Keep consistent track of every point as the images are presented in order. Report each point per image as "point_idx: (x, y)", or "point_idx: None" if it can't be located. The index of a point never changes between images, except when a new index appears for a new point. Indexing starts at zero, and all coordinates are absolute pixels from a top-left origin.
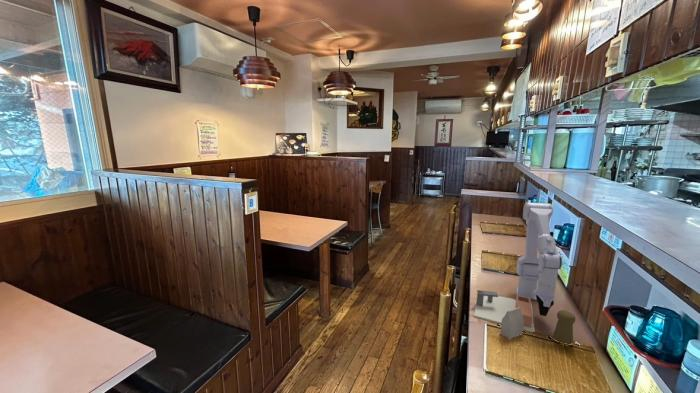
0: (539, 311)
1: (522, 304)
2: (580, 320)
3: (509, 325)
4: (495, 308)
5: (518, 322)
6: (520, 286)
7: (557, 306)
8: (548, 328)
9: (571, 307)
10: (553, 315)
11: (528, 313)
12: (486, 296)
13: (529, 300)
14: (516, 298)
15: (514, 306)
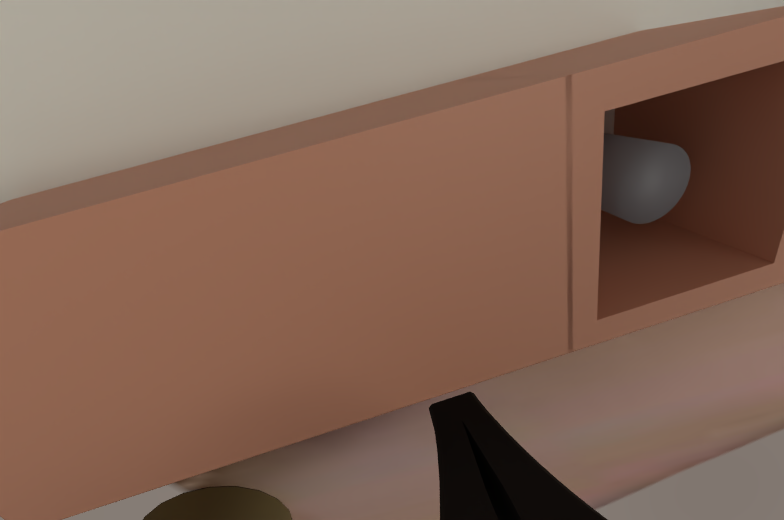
0: (437, 447)
1: (430, 252)
2: (610, 498)
3: None
4: None
5: None
6: None
7: (764, 367)
8: (328, 432)
9: (774, 424)
10: (595, 391)
11: (97, 453)
12: None
13: (691, 298)
14: (739, 20)
15: (571, 29)
